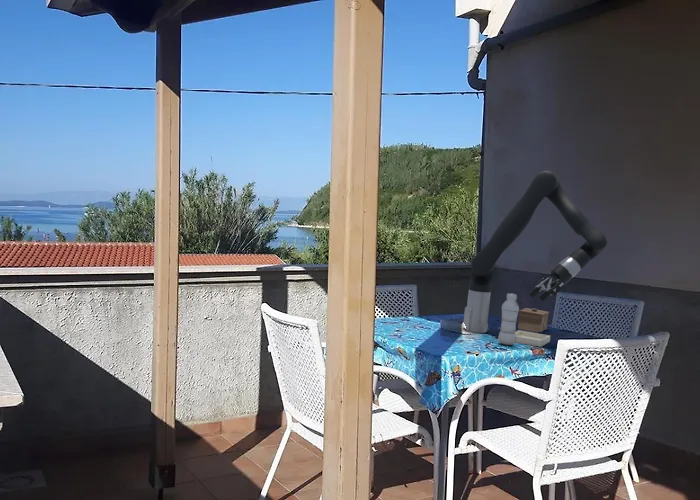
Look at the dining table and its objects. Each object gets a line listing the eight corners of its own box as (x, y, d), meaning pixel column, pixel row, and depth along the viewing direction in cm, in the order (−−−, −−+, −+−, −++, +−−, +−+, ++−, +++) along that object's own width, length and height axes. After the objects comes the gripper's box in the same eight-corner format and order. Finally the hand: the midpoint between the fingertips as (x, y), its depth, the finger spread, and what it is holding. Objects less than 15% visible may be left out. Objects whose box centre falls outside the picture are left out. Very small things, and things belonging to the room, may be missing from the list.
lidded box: (540, 333, 296) (543, 312, 296) (516, 328, 302) (518, 308, 301) (547, 329, 308) (549, 309, 307) (523, 325, 313) (526, 305, 312)
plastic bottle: (515, 347, 259) (521, 296, 257) (497, 345, 260) (503, 294, 259) (514, 344, 265) (520, 294, 264) (497, 342, 267) (503, 292, 265)
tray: (540, 347, 264) (541, 341, 264) (508, 341, 270) (508, 335, 270) (549, 341, 278) (550, 335, 278) (518, 335, 284) (519, 330, 284)
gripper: (551, 261, 271) (521, 287, 270) (569, 265, 257) (538, 293, 256) (562, 275, 272) (532, 301, 271) (580, 280, 258) (549, 308, 257)
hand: (535, 297), depth 263 cm, fingers open, 8 cm apart
